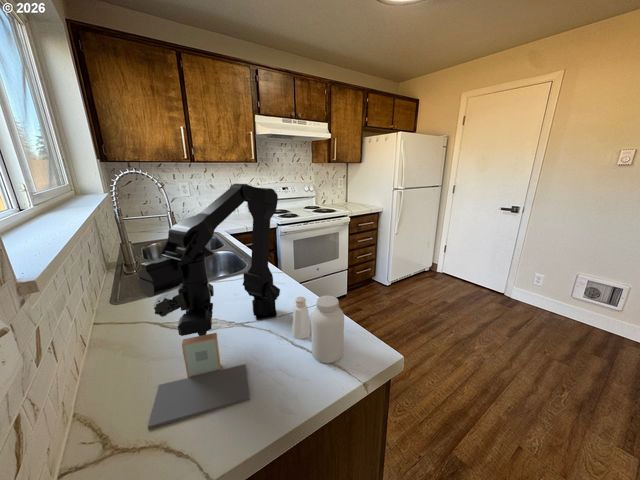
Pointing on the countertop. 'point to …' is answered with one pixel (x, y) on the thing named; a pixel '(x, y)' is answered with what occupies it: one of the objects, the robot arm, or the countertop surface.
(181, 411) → the mat
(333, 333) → the pill bottle
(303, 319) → the pepper shaker
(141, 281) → the robot arm
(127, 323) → the countertop surface
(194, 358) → the tile
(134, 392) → the countertop surface
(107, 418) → the countertop surface
